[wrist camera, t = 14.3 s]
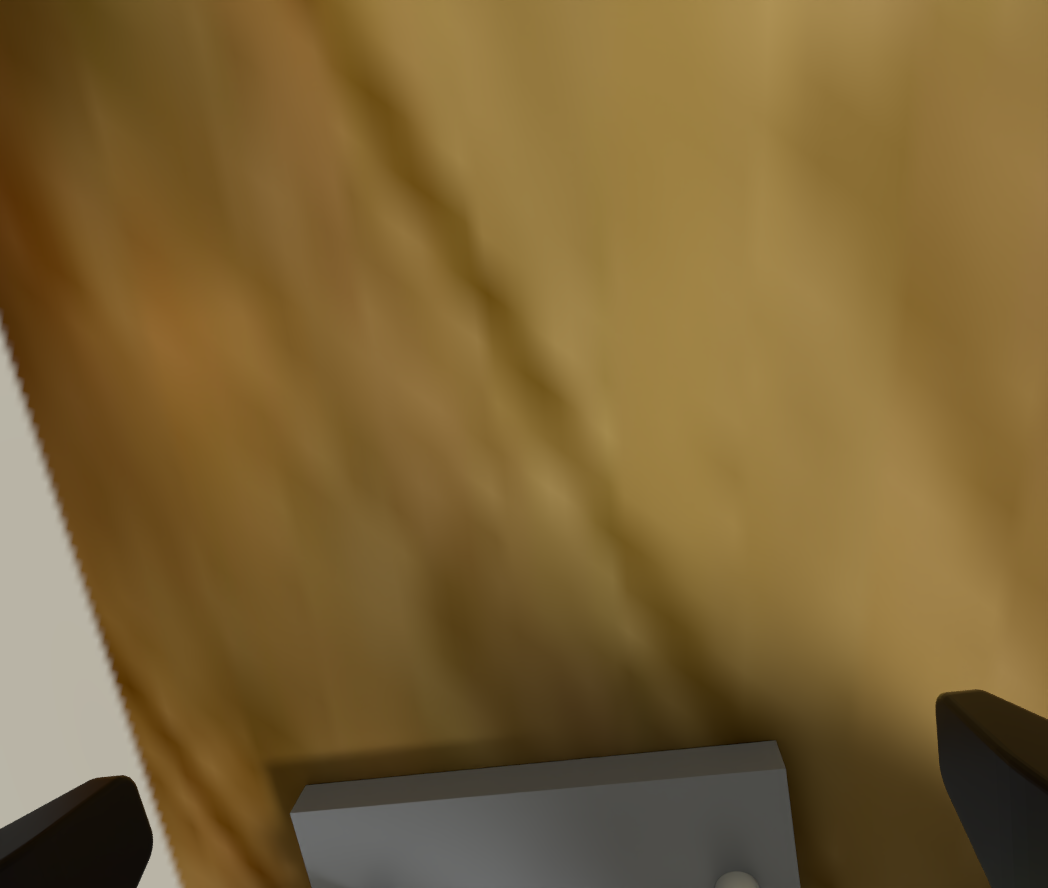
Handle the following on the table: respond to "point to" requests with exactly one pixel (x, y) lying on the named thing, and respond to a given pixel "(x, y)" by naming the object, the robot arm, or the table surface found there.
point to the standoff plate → (560, 824)
